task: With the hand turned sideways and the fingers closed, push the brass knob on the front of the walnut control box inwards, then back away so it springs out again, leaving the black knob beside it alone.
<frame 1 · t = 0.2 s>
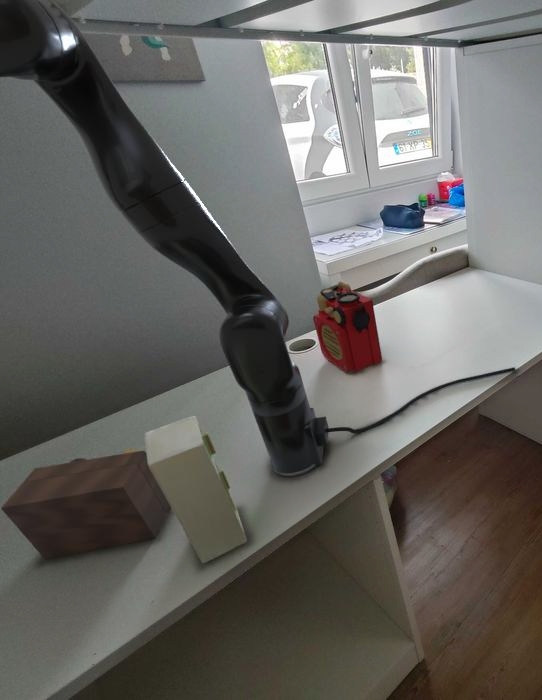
radio: (353, 360, 117), on the table
brass knob: (130, 464, 75), point 9 cm above the table, slide at -0.1 cm
control box: (113, 528, 74), on the table
toy refrigerator: (224, 535, 72), on the table
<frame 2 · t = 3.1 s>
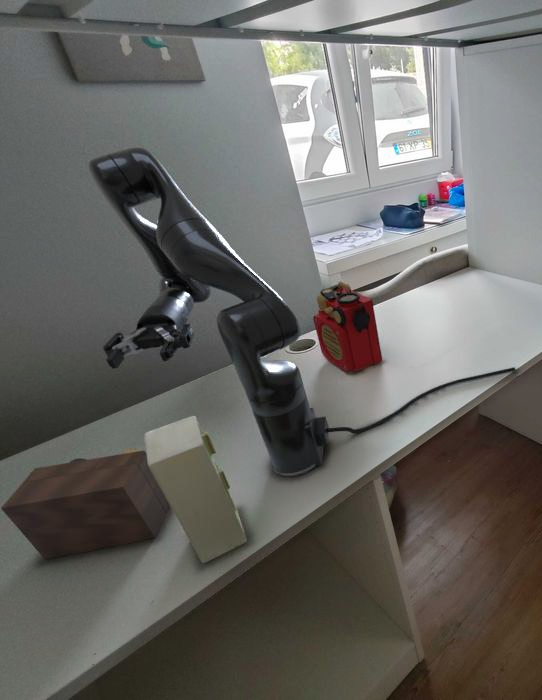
hand: (138, 360, 82), 20 cm above the table, tool horizontal, fingers open, 8 cm apart
nothing on the table moved.
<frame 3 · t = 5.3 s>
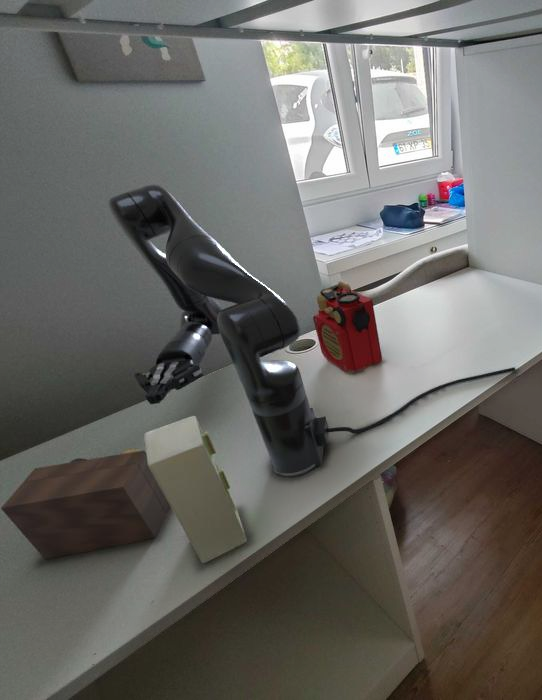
hand: (152, 400, 84), 12 cm above the table, tool horizontal, fingers closed
nothing on the table moved.
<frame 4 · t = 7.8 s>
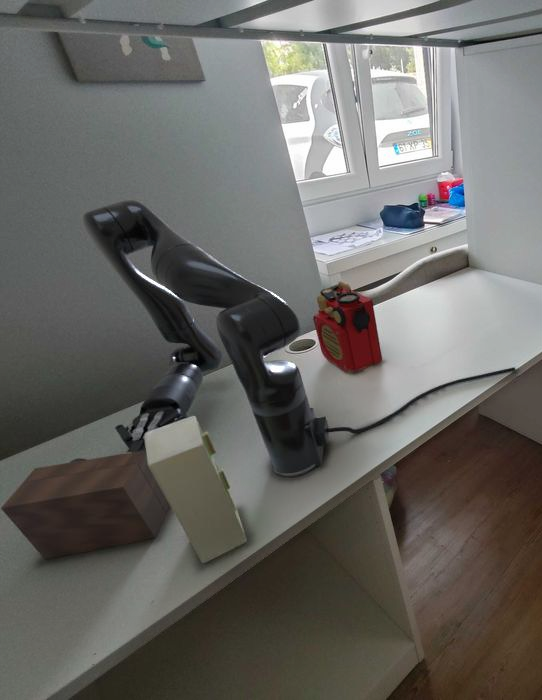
hand: (133, 459, 76), 9 cm above the table, tool horizontal, fingers closed
brass knob: (128, 467, 74), point 9 cm above the table, slide at 0.6 cm, touching gripper
everything else where it was.
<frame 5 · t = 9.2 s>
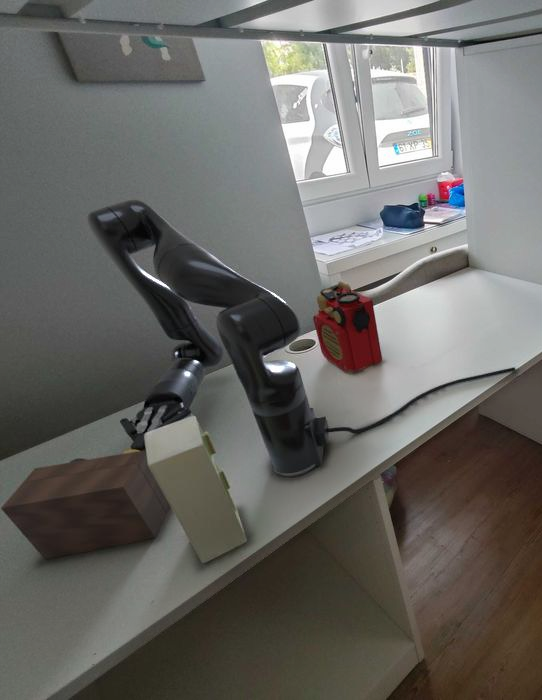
hand: (138, 451, 78), 8 cm above the table, tool horizontal, fingers closed
brass knob: (130, 464, 75), point 9 cm above the table, slide at -0.1 cm
everything else where it was.
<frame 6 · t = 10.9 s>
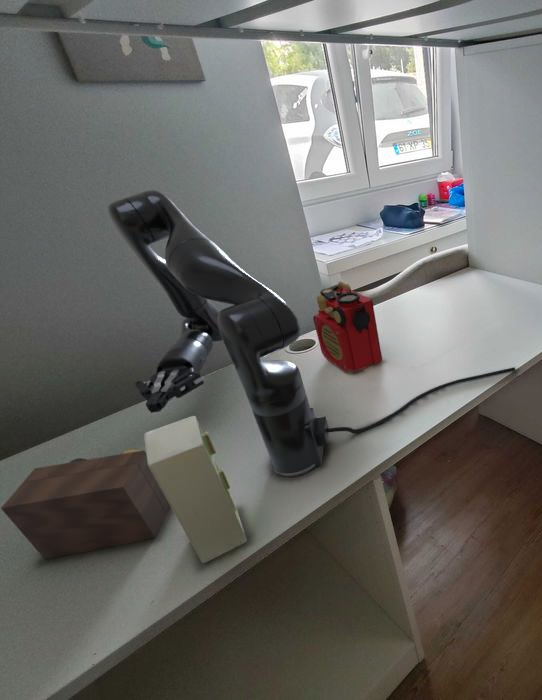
hand: (153, 408, 84), 11 cm above the table, tool horizontal, fingers closed
nothing on the table moved.
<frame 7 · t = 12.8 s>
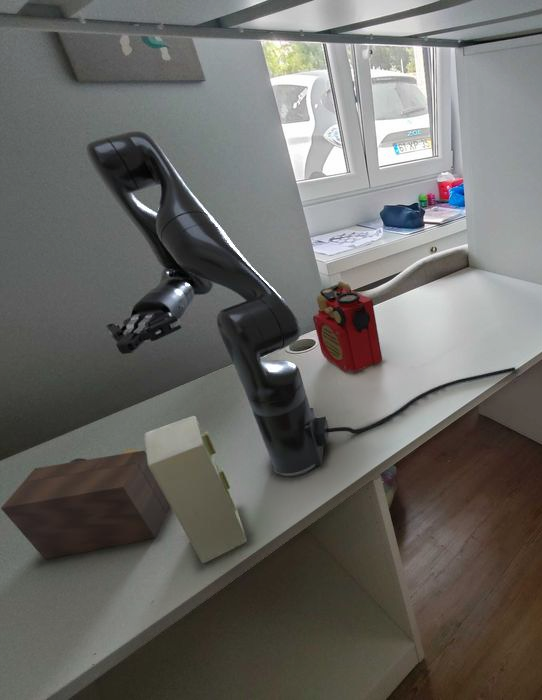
hand: (124, 349, 78), 24 cm above the table, tool horizontal, fingers closed
nothing on the table moved.
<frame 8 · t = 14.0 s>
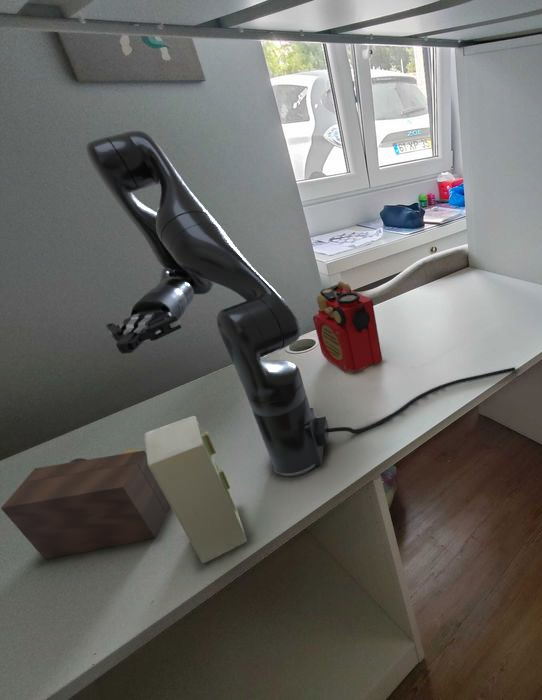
hand: (124, 348, 78), 24 cm above the table, tool horizontal, fingers closed
nothing on the table moved.
at the end: brass knob pulled out 1.4 cm at the most during the clip, back to where it started at the end; brass knob slide at -0.1 cm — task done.
